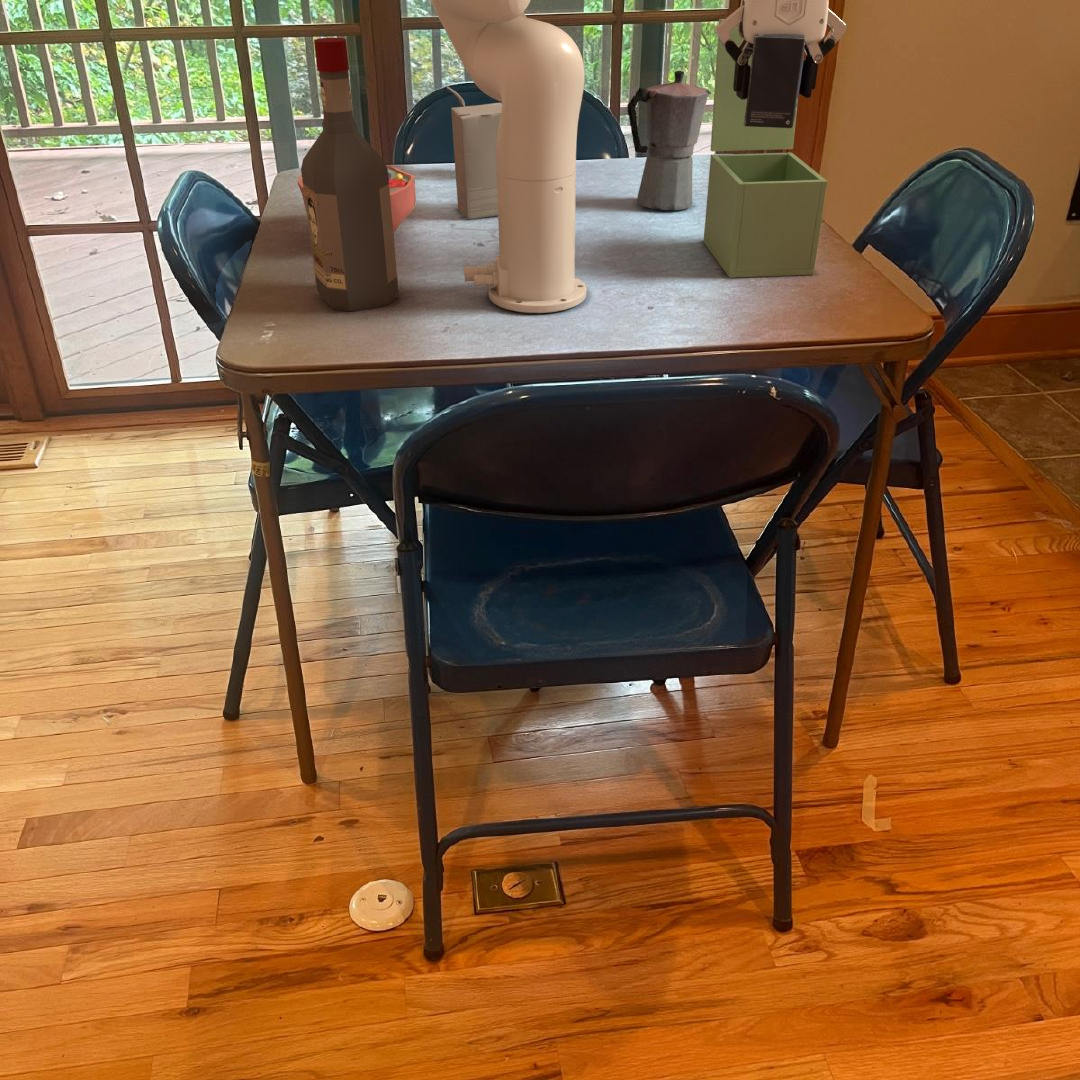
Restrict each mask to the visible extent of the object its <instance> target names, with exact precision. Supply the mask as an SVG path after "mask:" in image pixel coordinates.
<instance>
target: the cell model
mask: <svg viewBox="0 0 1080 1080" xmlns="http://www.w3.org/2000/svg"><path fill="white" fill-rule="evenodd" d="M386 167H387V169H388V177H389V189H390V200H391V212H392V223H393V234H395V232H396V231H397V229H398V228H399V226H400V225H401V224H402V222H403V221H404V220H405V219H406V218H407V217H408V216H410V214H411V213H412V212H413V210H414V209H415V206H416V203H417V195H416V181H415V180H416V179H415V175H413V174H412V173H411V174H410V173H408V172H406V171H404V170H401V169H400V168H398V167H396V166H395V167H394V166H390V165H386ZM296 183H297V186H298V188H299V191H300V193H301V196H302V201H303V204H304V208H305V209H306V204H305V196H304V189H303V181H302V174H301V175H299V177H298V179H297V180H296ZM305 212H306V213H307V211H306V210H305Z"/></svg>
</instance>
